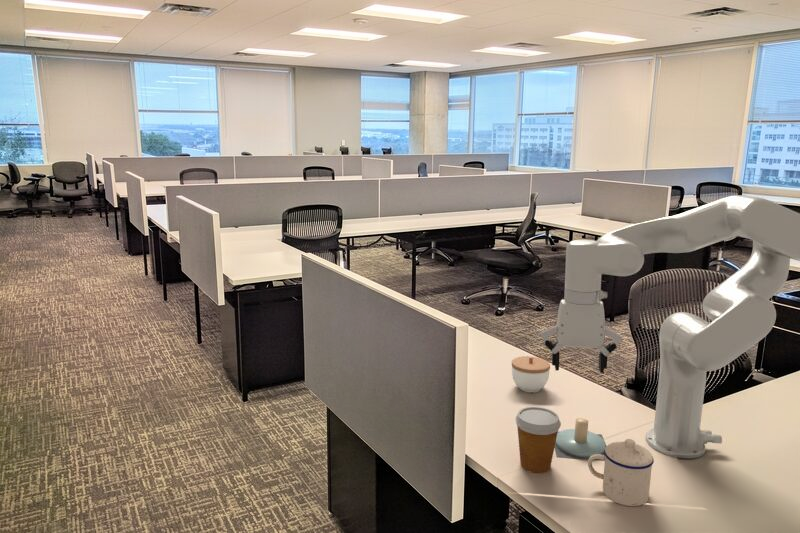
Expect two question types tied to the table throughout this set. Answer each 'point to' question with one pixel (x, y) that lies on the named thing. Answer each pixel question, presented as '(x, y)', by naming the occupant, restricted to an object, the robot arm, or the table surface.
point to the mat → (564, 455)
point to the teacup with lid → (625, 472)
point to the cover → (580, 440)
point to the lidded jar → (530, 373)
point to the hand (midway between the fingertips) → (578, 369)
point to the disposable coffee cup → (537, 437)
